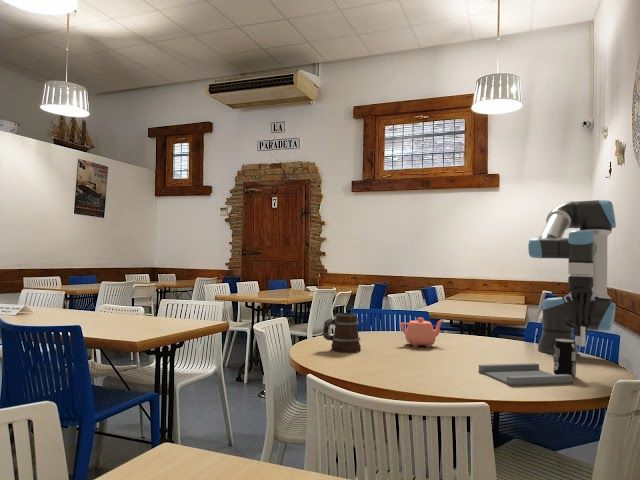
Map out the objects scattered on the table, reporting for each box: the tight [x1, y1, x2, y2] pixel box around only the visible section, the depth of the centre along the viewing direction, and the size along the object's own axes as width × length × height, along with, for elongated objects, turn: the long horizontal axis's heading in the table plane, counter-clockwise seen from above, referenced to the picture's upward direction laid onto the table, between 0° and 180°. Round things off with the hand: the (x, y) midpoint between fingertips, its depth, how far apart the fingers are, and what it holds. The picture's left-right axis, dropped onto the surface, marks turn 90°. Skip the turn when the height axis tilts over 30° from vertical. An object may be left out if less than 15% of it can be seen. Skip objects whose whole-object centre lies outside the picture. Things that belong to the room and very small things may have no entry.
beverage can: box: [553, 339, 577, 378], centre depth 160 cm, size 7×7×12 cm
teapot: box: [399, 317, 445, 348], centre depth 211 cm, size 13×20×12 cm, turn 93°
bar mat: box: [478, 362, 574, 387], centre depth 156 cm, size 22×18×2 cm
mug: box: [321, 312, 362, 354], centre depth 196 cm, size 16×12×15 cm
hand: (580, 345), depth 161 cm, fingers closed
